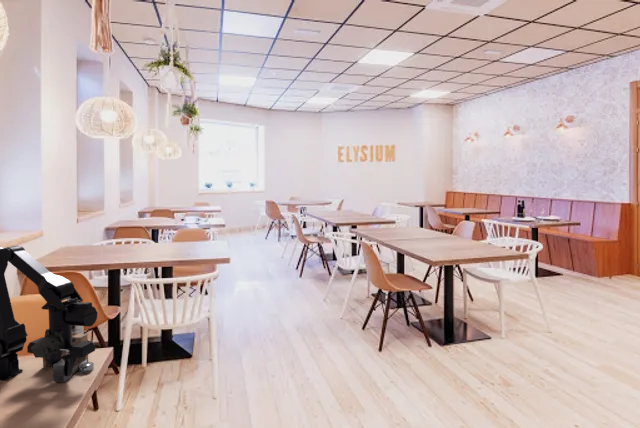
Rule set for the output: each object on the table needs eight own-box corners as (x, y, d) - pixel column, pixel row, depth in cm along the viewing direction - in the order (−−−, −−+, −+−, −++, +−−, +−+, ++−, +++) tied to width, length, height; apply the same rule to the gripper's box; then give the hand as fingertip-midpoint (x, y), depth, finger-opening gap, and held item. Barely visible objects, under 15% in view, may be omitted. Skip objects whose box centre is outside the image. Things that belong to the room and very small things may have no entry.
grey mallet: (53, 381, 127) (53, 364, 127) (79, 362, 140) (79, 347, 139) (63, 382, 127) (63, 365, 127) (88, 363, 139) (88, 348, 139)
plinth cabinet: (43, 367, 138) (41, 338, 137) (58, 359, 144) (56, 331, 143) (74, 370, 136) (73, 341, 135) (88, 362, 141) (87, 334, 141)
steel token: (76, 373, 134) (76, 366, 134) (85, 367, 138) (84, 361, 138) (88, 373, 134) (88, 367, 133) (96, 368, 138) (96, 362, 137)
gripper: (9, 330, 122) (11, 384, 123) (66, 335, 118) (68, 391, 119) (42, 318, 132) (44, 367, 134) (95, 322, 129) (97, 373, 130)
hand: (62, 375), depth 129 cm, fingers closed on grey mallet, 3 cm apart
